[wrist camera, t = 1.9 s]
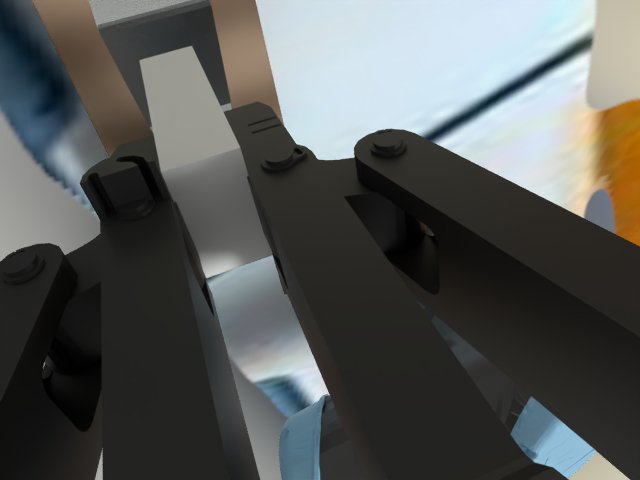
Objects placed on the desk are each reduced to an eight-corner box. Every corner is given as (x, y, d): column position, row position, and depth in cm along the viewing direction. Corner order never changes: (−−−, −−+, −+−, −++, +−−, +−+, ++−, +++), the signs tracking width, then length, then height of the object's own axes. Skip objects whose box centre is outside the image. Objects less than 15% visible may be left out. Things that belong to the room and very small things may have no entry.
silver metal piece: (240, 164, 38) (247, 184, 37) (182, 182, 37) (189, 203, 36) (197, -32, 20) (210, 1, 20) (87, -4, 20) (98, 31, 19)
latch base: (281, 144, 41) (301, 176, 37) (134, 190, 39) (138, 230, 35) (193, -224, 27) (210, -240, 23) (-44, -178, 25) (-73, -185, 21)
